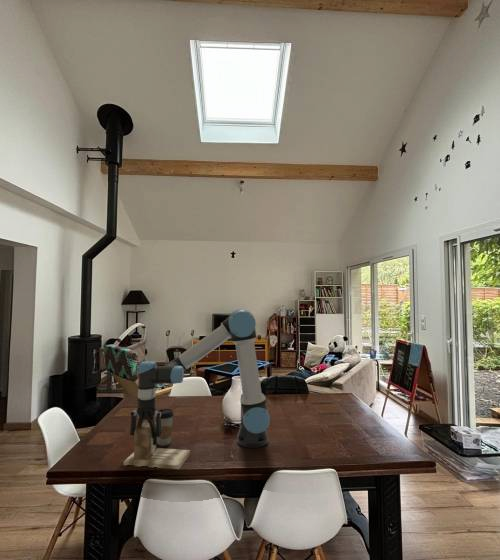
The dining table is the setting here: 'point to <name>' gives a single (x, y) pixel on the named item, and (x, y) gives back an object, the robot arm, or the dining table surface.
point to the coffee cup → (165, 427)
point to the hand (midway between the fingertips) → (145, 451)
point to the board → (161, 459)
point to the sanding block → (143, 442)
